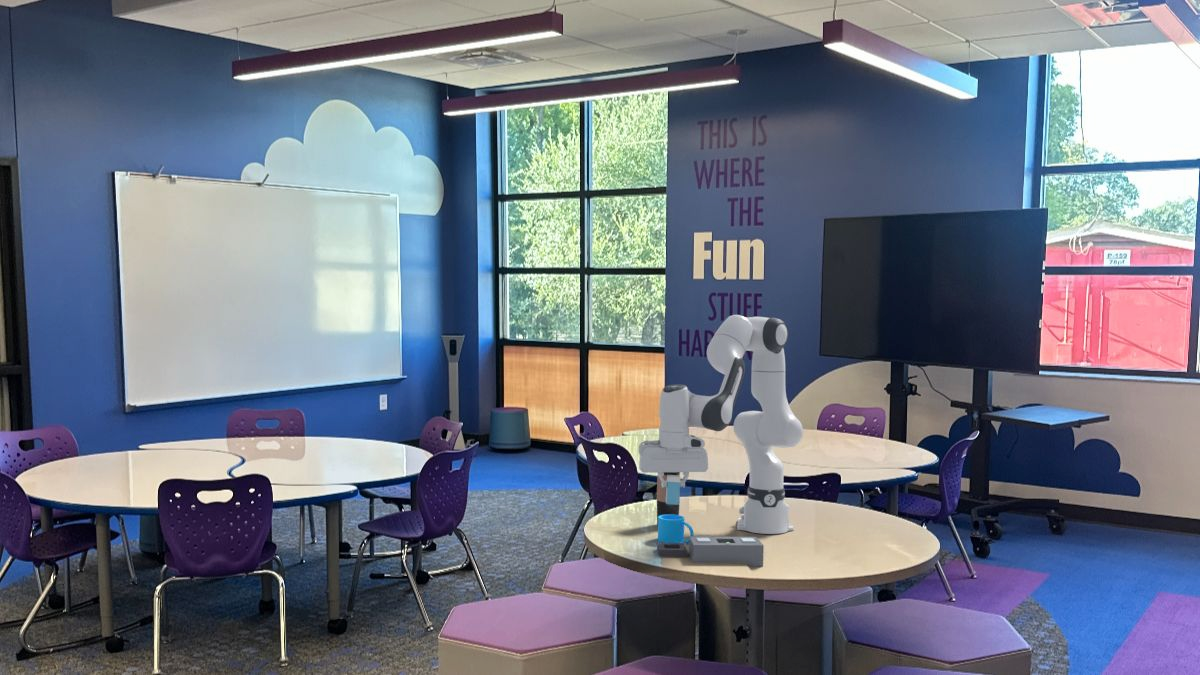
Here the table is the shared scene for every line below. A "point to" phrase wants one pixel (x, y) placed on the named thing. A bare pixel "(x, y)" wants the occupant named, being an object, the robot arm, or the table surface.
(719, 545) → the panel
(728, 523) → the table surface
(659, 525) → the mug
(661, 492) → the travel mug
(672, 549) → the holster
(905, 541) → the table surface
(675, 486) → the plug
